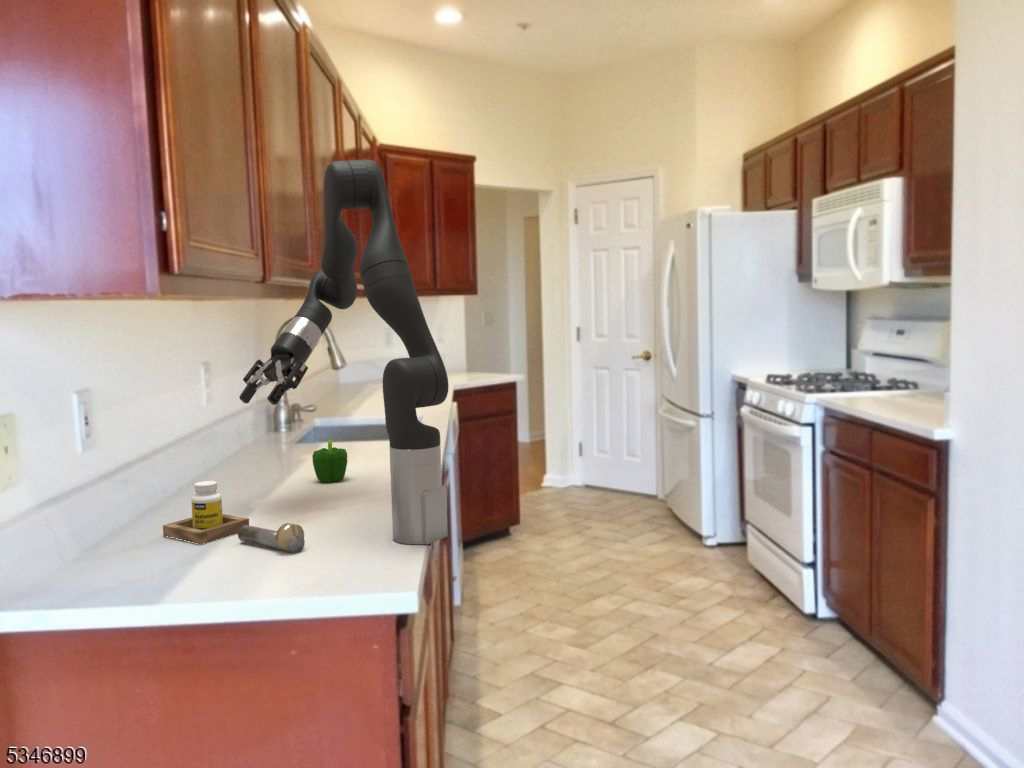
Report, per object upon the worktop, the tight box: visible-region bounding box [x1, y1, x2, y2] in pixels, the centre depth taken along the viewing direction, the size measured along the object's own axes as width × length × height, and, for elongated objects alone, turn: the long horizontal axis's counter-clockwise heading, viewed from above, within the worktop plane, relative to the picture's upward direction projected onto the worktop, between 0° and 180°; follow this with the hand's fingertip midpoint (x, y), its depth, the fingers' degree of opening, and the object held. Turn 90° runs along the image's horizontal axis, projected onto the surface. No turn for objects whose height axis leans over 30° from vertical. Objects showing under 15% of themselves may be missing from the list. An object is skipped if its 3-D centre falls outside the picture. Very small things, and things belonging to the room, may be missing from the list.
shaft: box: [237, 522, 306, 554], centre depth 140 cm, size 14×5×5 cm, turn 58°
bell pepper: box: [311, 439, 348, 483], centre depth 194 cm, size 8×8×10 cm
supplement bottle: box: [191, 480, 223, 530], centre depth 150 cm, size 5×5×10 cm
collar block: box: [162, 513, 250, 545], centre depth 150 cm, size 11×11×2 cm
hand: (256, 401), depth 159 cm, fingers open, 8 cm apart
